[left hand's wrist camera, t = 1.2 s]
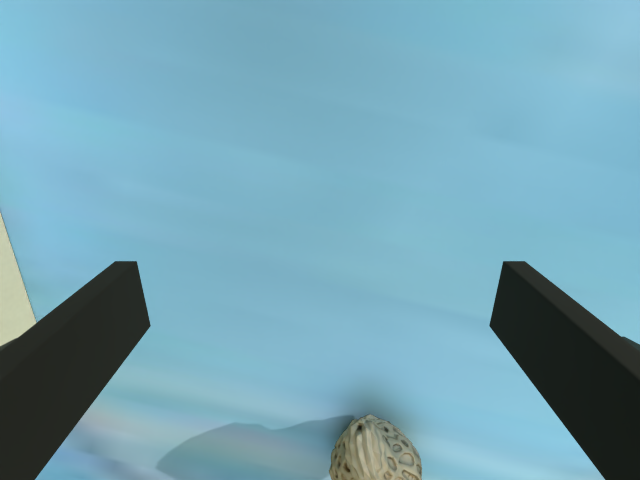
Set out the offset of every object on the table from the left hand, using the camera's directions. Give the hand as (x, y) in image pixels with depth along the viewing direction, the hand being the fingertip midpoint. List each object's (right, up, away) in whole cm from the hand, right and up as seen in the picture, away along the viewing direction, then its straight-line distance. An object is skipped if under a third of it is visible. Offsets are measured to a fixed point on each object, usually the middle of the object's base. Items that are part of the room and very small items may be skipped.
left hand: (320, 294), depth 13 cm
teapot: (+7, -26, +37) cm, 46 cm away
